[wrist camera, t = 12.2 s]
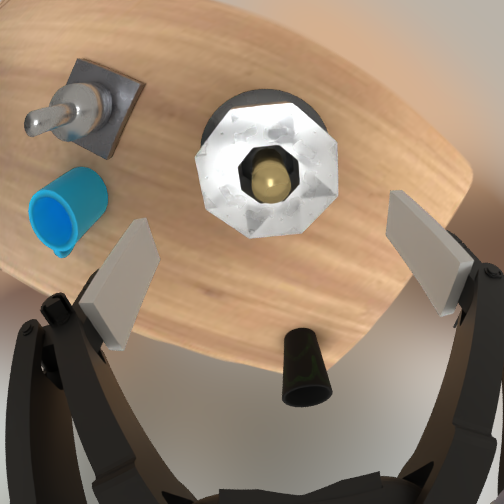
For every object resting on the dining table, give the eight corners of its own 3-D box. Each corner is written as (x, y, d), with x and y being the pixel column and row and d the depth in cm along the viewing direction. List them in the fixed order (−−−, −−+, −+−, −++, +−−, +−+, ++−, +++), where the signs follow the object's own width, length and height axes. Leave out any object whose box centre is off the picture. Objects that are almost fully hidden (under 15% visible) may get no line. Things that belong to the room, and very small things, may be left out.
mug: (65, 159, 30) (29, 181, 23) (113, 176, 32) (81, 202, 25) (59, 230, 36) (31, 260, 29) (100, 248, 38) (76, 282, 31)
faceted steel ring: (218, 222, 28) (213, 242, 25) (197, 113, 22) (187, 117, 19) (327, 211, 28) (337, 230, 24) (322, 99, 21) (334, 101, 18)
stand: (57, 127, 27) (-5, 154, 17) (84, 58, 23) (18, 59, 12) (112, 156, 30) (56, 193, 20) (145, 84, 25) (90, 87, 15)
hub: (182, 168, 31) (146, 213, 21) (246, 66, 25) (240, 50, 14) (280, 225, 35) (291, 290, 25) (349, 136, 29) (398, 167, 18)
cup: (288, 355, 50) (293, 411, 40) (271, 333, 46) (273, 394, 36) (326, 342, 48) (338, 398, 38) (313, 318, 44) (324, 379, 34)
